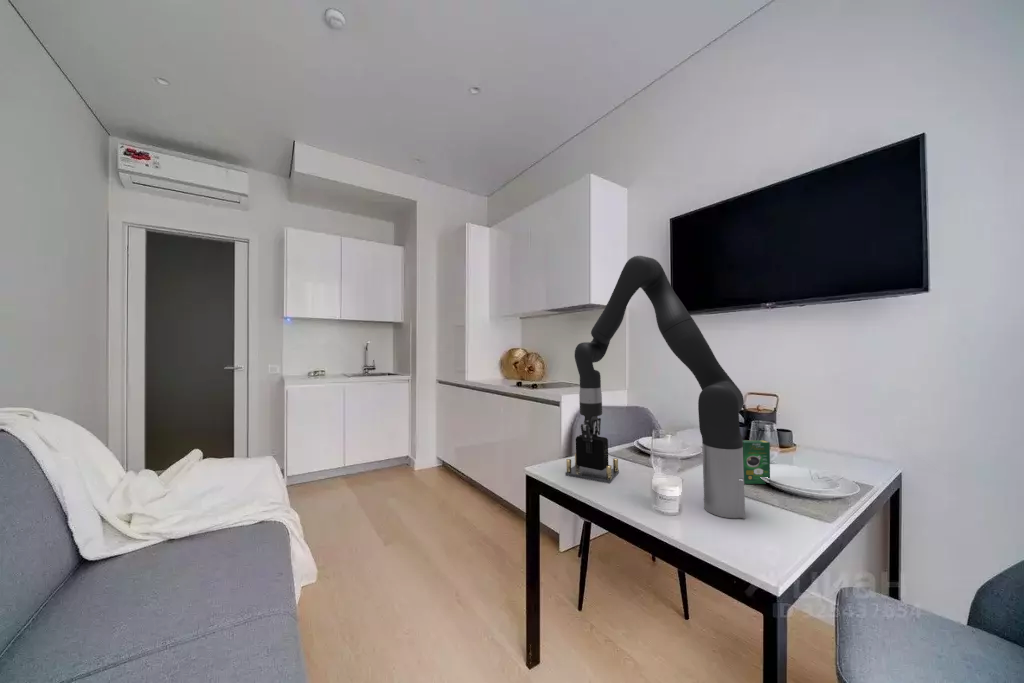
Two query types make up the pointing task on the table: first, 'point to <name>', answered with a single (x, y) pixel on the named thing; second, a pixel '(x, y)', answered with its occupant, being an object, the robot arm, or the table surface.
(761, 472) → the coffee box
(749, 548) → the table surface
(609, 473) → the chassis
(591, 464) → the electronic device
